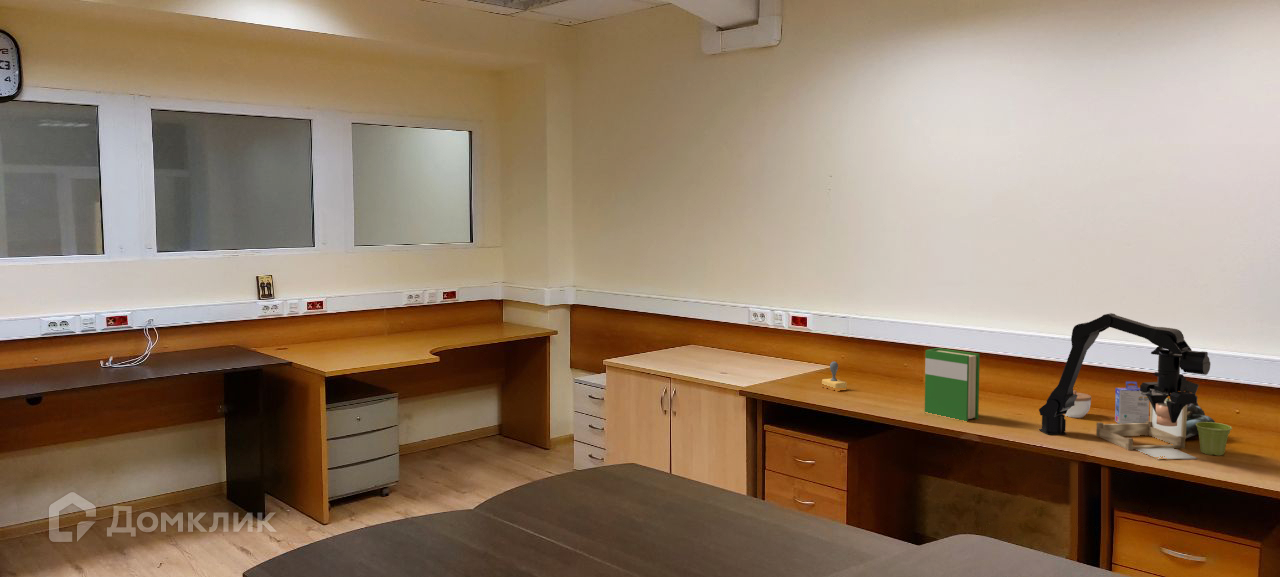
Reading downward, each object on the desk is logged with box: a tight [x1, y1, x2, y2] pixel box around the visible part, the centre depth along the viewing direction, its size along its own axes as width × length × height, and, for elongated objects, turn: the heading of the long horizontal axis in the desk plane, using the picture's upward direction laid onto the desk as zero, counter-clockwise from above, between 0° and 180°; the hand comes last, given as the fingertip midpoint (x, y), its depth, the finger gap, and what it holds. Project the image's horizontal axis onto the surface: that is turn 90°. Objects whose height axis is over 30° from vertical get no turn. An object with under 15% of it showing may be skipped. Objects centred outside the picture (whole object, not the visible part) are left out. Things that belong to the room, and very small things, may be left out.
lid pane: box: [1149, 397, 1187, 440], centre depth 282 cm, size 1×16×11 cm, turn 3°
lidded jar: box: [1064, 389, 1092, 419], centre depth 318 cm, size 11×11×9 cm
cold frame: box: [1095, 420, 1186, 451], centre depth 282 cm, size 18×17×5 cm
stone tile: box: [1135, 448, 1198, 460], centre depth 267 cm, size 12×11×1 cm
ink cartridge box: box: [1114, 380, 1150, 424], centre depth 306 cm, size 10×6×14 cm, turn 78°
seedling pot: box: [1155, 397, 1177, 426], centre depth 266 cm, size 6×6×8 cm
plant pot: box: [1196, 422, 1233, 456], centre depth 268 cm, size 9×9×9 cm
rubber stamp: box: [821, 360, 847, 389], centre depth 372 cm, size 10×6×12 cm, turn 25°
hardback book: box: [924, 347, 981, 422], centre depth 320 cm, size 18×7×24 cm, turn 35°
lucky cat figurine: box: [1186, 402, 1216, 439], centre depth 288 cm, size 15×12×14 cm
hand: (1166, 420), depth 267 cm, fingers closed on seedling pot, 6 cm apart
